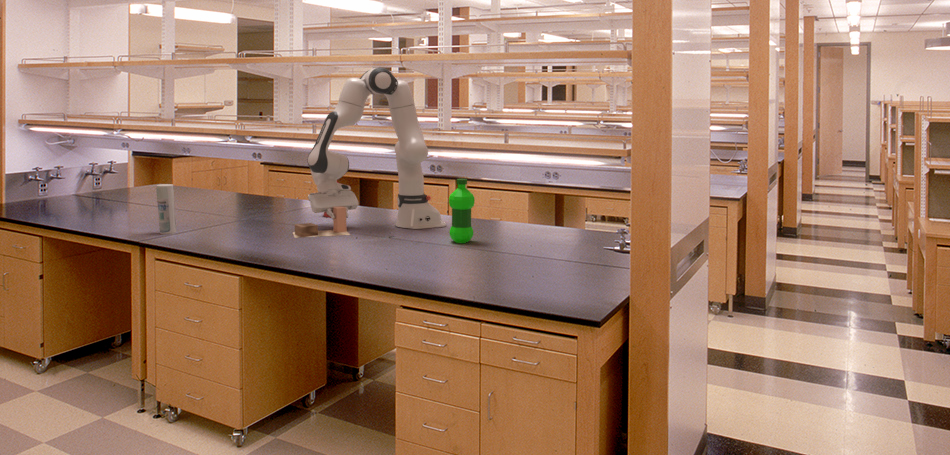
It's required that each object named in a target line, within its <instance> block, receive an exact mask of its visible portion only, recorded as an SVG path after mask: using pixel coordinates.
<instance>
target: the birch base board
mask: <svg viewBox="0 0 950 455" xmlns="http://www.w3.org/2000/svg"><path fill="white" fill-rule="evenodd" d="M292 234H293V237H294V238H295V239H297V238H302V237H301V236H298V235H296V234H295V231H292ZM333 236H334V237H336V236H339V237H340V236H351V234H350V232H349V231H348V230H347V231H346V232H335V231H334V229H330V230H329V229H326V230H318V235H315V236H306V237H305V238H316V237H333Z"/></svg>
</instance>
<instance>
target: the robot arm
mask: <svg viewBox="0 0 950 455" xmlns="http://www.w3.org/2000/svg"><path fill="white" fill-rule="evenodd" d="M370 95H384V96H385V98H386V99H387V103H388V108H389V113H390V118H391V123H392V127H393V129H394V131H395V134H396V138H397V140H398V141H396V143H395V145H394V152H395V160H396V168H397V174H398V194H397V216H396V217H397V218H396V221H395V227H396V228H397V227H398V228H402V229H403V228H404V229H413V230H421V229H430V228H431V229H432V228H434V229H435V228H441V227H446V226H447V223H446V222H445V221H444V220H443V219H442V217H441V216H442V215H441V213H440V211H439V209H437V208H436V207H435V206H433V205H432V204H431V203H429V201H431V195H427V194H425V193H424V192H425V178H424V173H423V170H422V168H423V167H422V162H425V160H426V159H427V158H428V154H429V148H428V146H427V144H426V141H425V138H424V135H423V132H422V129H421V127H420V123H419V120H418V114H417V110H416V106H415V99H414V96H413V93H412V89H411V87H410V85H409V83H408V81H406V80H403V79H397V77H395V76H394V74H393V73H392V72H391V71H390V70H389V69H387V68H385V67H380V66H379V67H373V68H370V69H369V70H367V71H365V72H364V73H363V74H362V75H361V76H360V77H349V78H348V79H346V80H345V82H344V84H343V87H342V88H341V91H340V95H339V98H338V102H337V104H336V106H335V107H334V109H333V110H332V111H331V112H329V113H328V115H327V116H326V117H325V119H324V122H323V124H322V127H321V128H320V131H319V132H318V133H319V134H318V136H317V138H316V140H315V144H314V145H313V146H312V149H311V150H310V152H309V153H308V156H307V159H306V160H307V161H306V162H307V166H308V167H309V169H310V174H311V178H312V180H313V182H314V185H316V190H317V192H310V193H309V194H308V195H307V199H308V201H309V203H310V208H311V211H312V212H313V213H314V214H320V213H324V212H326V213H327V214H328V215H329V216H330V217H331V218H330V219H331V220H333V219H336V215H335V214H333V213H332V211H333V207H345V208H346V219H348V218H349V214H348V211H350V210H351V211H352V210H356V209H357V208H358V206H359V204H360V202H359V200H358V197H357V196H356V194H355V192H353V191H352V188H351V186H350V185H349V184H344V183H340V182H339V183H337V181H338V180H340V179H341V178H342V177H343V176H345V175H346V174H347V173H348V171H349V169H350V160H349V158H348V157H347V156H346V155H345V154H342V153H339V152H335V151H330V150H329V147H330V144H331V143H332V140H333V138H334V135H335V133H336V132H337V131H338V130H339V129H341V128H345V127H350V126H353V125H356V124H357V123H359V121H361V119H362V117H363V114H364V110H365V106H366V103H367V102H366V101H367V99H368V98H369V96H370Z"/></svg>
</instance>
